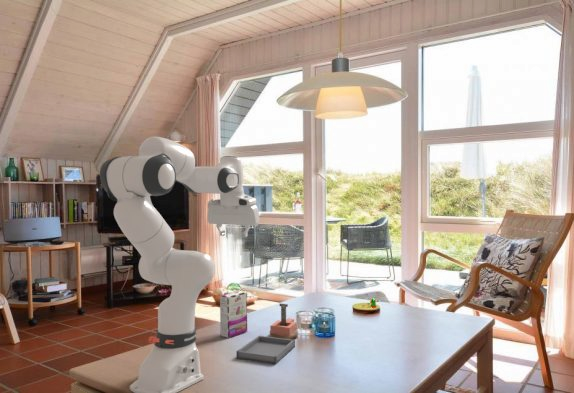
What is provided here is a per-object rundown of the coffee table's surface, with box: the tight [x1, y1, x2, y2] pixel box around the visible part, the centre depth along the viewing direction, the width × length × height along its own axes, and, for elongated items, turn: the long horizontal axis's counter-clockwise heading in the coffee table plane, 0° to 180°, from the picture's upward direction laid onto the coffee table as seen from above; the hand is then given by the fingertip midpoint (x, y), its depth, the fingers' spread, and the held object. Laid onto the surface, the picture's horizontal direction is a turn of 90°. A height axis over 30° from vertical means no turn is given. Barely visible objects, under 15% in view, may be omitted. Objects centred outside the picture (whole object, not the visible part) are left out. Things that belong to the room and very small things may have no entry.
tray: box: [235, 335, 296, 365], centre depth 163 cm, size 19×15×2 cm
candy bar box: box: [219, 290, 248, 339], centre depth 184 cm, size 11×5×16 cm, turn 143°
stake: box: [269, 303, 298, 340], centre depth 181 cm, size 11×11×13 cm
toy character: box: [366, 298, 381, 309], centre depth 220 cm, size 11×12×7 cm
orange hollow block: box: [269, 318, 298, 336], centre depth 183 cm, size 12×8×3 cm, turn 159°
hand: (233, 236), depth 172 cm, fingers open, 8 cm apart
